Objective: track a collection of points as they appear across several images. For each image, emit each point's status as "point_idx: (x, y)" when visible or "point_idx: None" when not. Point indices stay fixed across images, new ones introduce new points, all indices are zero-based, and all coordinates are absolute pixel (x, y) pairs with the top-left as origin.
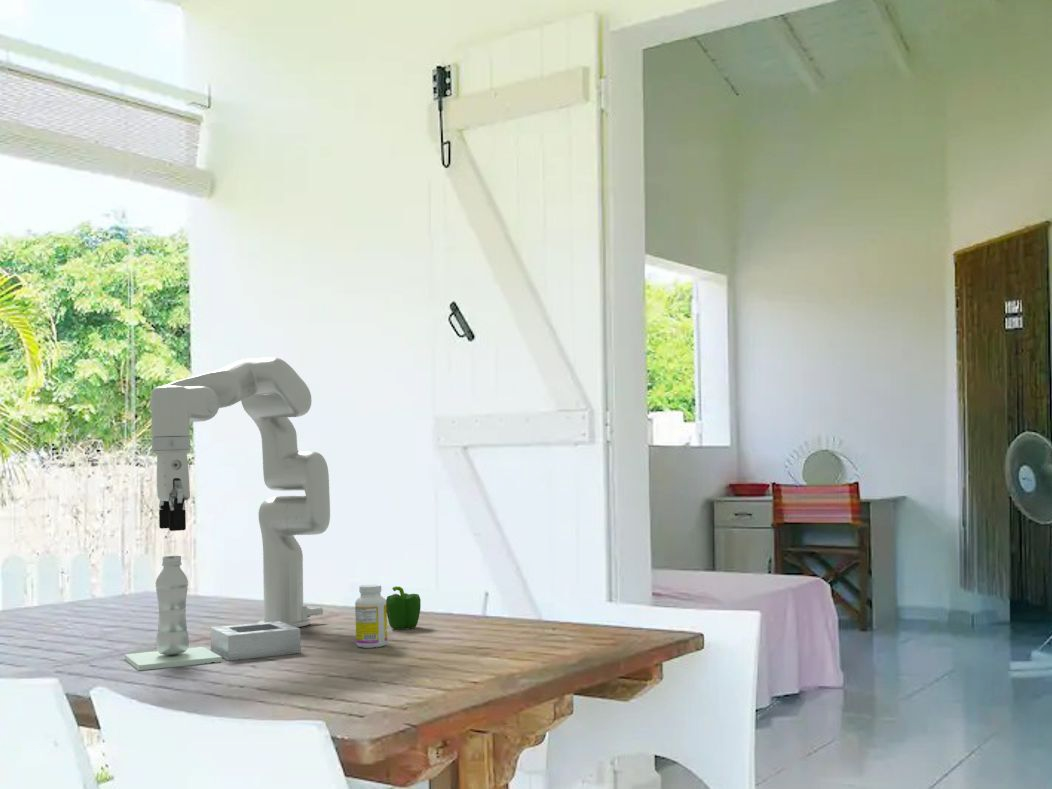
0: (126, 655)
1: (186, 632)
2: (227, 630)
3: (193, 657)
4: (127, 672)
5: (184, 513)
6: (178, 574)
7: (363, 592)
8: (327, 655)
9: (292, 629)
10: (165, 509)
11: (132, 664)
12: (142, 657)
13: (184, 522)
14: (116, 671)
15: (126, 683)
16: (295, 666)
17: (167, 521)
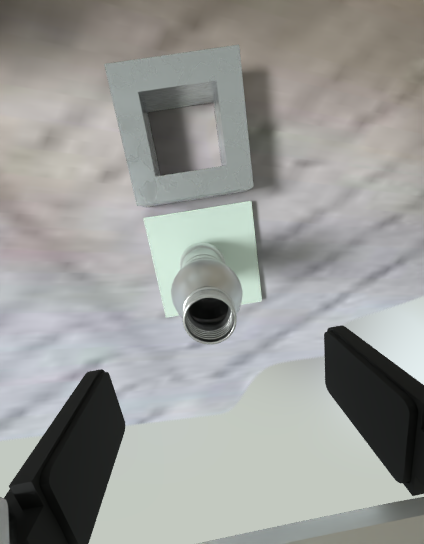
0: (176, 315)
1: (212, 248)
2: (192, 181)
3: (237, 237)
4: (264, 310)
5: (415, 386)
6: (233, 287)
7: None
8: (275, 32)
9: (240, 62)
10: (62, 534)
11: None
12: None
13: (365, 348)
14: (251, 321)
15: (333, 309)
16: (341, 106)
17: (104, 429)
